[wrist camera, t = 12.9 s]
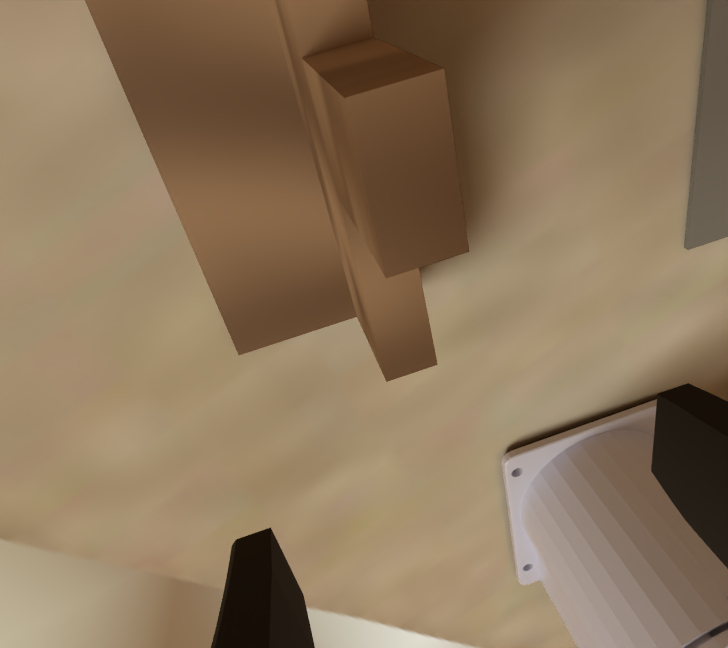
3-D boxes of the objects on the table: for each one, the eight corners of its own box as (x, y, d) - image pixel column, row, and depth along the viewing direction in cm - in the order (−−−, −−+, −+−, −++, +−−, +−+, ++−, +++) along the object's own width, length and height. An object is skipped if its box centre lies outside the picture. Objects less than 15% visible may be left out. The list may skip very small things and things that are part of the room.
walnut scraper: (395, 293, 20) (498, 467, 13) (237, 345, 20) (260, 551, 13) (266, -273, 12) (358, -565, 5) (0, -208, 12) (-268, -437, 5)
